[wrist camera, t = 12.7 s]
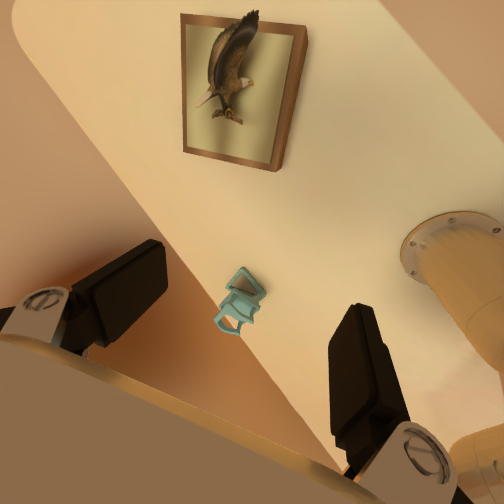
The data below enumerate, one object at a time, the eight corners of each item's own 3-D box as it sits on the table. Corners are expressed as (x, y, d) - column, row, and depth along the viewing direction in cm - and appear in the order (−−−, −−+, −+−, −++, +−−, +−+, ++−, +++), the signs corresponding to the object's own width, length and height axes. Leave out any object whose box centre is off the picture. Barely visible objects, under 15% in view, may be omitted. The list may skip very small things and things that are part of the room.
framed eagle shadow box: (308, 41, 26) (305, 23, 21) (280, 168, 33) (275, 173, 29) (199, 29, 28) (177, 11, 24) (197, 150, 36) (181, 152, 32)
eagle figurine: (268, 123, 26) (280, 14, 20) (219, 127, 22) (216, -5, 16) (232, 112, 30) (234, 19, 24) (187, 114, 26) (174, 4, 20)
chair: (254, 305, 50) (237, 347, 40) (226, 285, 50) (202, 323, 40) (272, 287, 46) (259, 330, 36) (242, 265, 45) (220, 303, 35)
